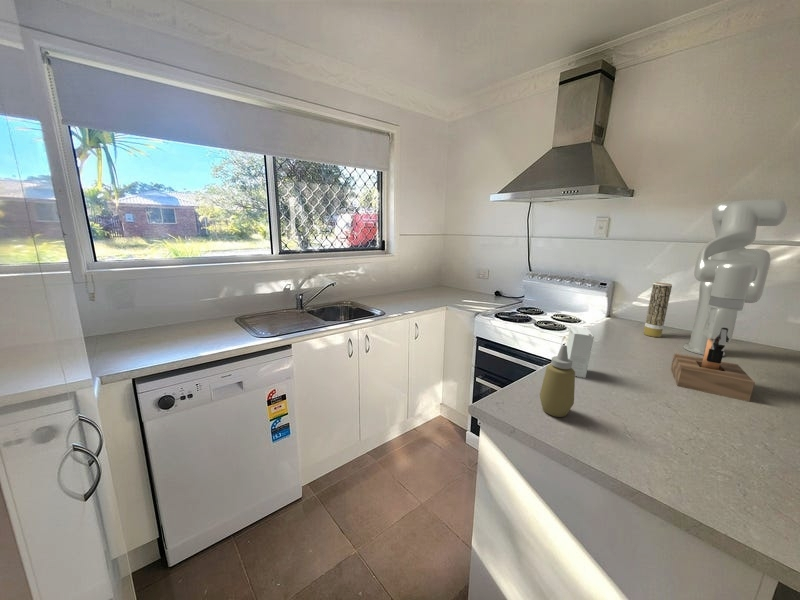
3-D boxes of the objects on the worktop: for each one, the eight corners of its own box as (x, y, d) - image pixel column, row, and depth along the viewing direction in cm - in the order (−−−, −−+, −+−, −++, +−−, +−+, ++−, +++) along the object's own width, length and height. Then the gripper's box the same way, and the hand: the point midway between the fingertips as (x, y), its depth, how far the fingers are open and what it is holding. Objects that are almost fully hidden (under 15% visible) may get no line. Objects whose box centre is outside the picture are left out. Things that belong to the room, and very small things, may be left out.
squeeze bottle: (570, 424, 79) (581, 354, 75) (535, 413, 83) (544, 346, 80) (573, 409, 86) (583, 344, 82) (540, 400, 90) (548, 338, 86)
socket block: (670, 369, 115) (674, 353, 114) (732, 381, 107) (737, 364, 105) (677, 385, 102) (681, 367, 101) (749, 401, 93) (754, 382, 92)
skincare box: (562, 366, 114) (568, 325, 111) (581, 368, 113) (588, 327, 109) (566, 375, 106) (573, 332, 103) (587, 378, 105) (594, 334, 102)
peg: (699, 368, 106) (709, 327, 103) (715, 371, 104) (726, 329, 101) (701, 372, 103) (712, 330, 100) (718, 375, 101) (729, 332, 98)
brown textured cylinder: (664, 338, 151) (675, 285, 146) (647, 336, 152) (658, 284, 147) (656, 334, 157) (666, 283, 152) (640, 332, 159) (650, 282, 153)
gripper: (703, 297, 108) (691, 349, 111) (715, 306, 94) (701, 365, 98) (734, 300, 104) (721, 355, 107) (752, 310, 90) (736, 371, 94)
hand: (711, 359), depth 103 cm, fingers closed on peg, 3 cm apart
